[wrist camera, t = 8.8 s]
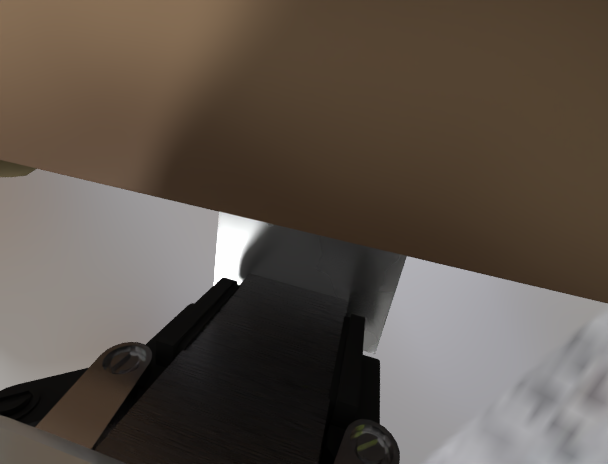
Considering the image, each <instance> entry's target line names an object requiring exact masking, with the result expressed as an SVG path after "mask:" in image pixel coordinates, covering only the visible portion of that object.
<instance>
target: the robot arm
mask: <svg viewBox="0 0 608 464" xmlns="http://www.w3.org/2000/svg"><path fill="white" fill-rule="evenodd" d="M239 287H240V285H238V282H237V281H236V280H232V279H229V278H225V277H223V278H221V279H220V280H219V281H218V282H217V283H216V284H215V285H214V286H213V287H212V288H211V289H210V290H209V291H208V292H206V293H205V294H204V295H203V296H202V297H201V298H200V299H199V300H198V301H197V302H196V303H195V304H193V303H192V304H190V305H188V306H187V307H186V308H185V309H184V310H183V311H181V312H180V313H179V314H178V315H177V316H176V317H175V318H174V319H173V320H172V321H171V322H170V323H168V324H167V325H166V326H165V327H164V328H163V329H162V330H161V331H160V332H159V333H158V334H157V335H156V336H154V337H153V338H152V339H151V340H150V341H149V342H148V343H147V344H146V345H145V344H141V343H138V342H128V343H122V344H118V345H115V346H113V347H112V348H109V349H107V350H106V351H105V352H104V353H102V355H100V356H99V357H98V358H97V360H96V361H95V362H94V363H93V364H92V365H91V366H90V367H89V368H86V369H82V370H77V371H73V372H69V373H64V374H61V375H56V376H52V377H47V378H43V379H39V380H35V381H31V382H26V383H22V384H18V385H14V386H11V387H8V388H6V389H3V390H1V391H0V464H126V463H124V462H121V461H119V460H116V459H114V458H111V457H109V456H106V455H104V454H101V453H99V452H96V451H94V450H95V449H96V448H97V447H98V446H99V445H100V443H101V442H102V441H103V440H104V439H105V438H106V437H107V435H108V434H109V433H110V432H111V431H112V430H113V429H114V427H115V426H116V425H117V424H118V423H119V422H120V421H121V420H122V418H123V417H124V416H125V415H126V414H127V413H128V412H129V410H130V409H131V408H132V407H133V406H134V405H135V404H136V402H137V401H138V400H139V399H140V398H141V397H142V396H143V394H144V393H145V392H146V391H147V390H148V389H149V388H150V387H151V385H152V384H153V383H154V382H155V381H156V380H157V379H158V377H159V376H160V375H161V374H162V373H163V372H164V371H165V369H166V368H167V367H168V366H169V365H170V364H171V363H172V361H173V360H174V359H175V358H176V357H177V356H178V355H179V353H180V352H181V351H182V350H185V349H186V348H187V347H188V346H189V345H190V343H191V342H192V341H193V340H194V339H195V338H196V336H197V335H198V334H199V333H200V332H201V331H202V330H203V328H204V327H205V326H206V325H207V324H208V323H209V321H210V320H211V319H212V318H213V317H214V316H215V315H216V313H217V312H218V311H219V310H220V309H221V308H222V306H223V305H224V304H225V303H226V302H227V301H228V300H229V298H230V297H231V296H232V295H233V294H234V293H235V291H236V290H237V289H238V288H239ZM365 319H366V318H365V317H363V316H359V315H356V314H352V313H351V315H350V317H348V316H344V321H343V326H342V331H341V336H340V341H339V346H338V351H337V356H336V361H335V366H334V371H333V376H332V381H331V386H330V391H329V396H328V399H330V402H329V407H328V413H327V418H326V423H325V428H324V434H323V439H322V444H321V449H320V455H319V460H318V464H399V460H400V455H399V454H400V452H399V448H398V445H397V442H396V441H395V439H394V437H393V436H392V434H391V433H390V432H389V431H388V430H387V429H386V428H385V427H383V426H381V425H380V419H379V418H380V361H379V360H378V359H375V358H372V357H368V356H365V355H363V343H364V331H365Z"/></svg>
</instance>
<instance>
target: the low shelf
mask: <svg viewBox="0 0 608 464" xmlns="http://www.w3.org/2000/svg"><path fill="white" fill-rule="evenodd" d="M0 160H3V161H7V162H12V163H16V164H20V165H24V166H28V167H33V168H37V169H41V170H46V171H50V172H54V173H58V174H62V175H67V176H71V177H75V178H79V179H84V180H88V181H92V182H96V183H100V184H105V185H109V186H113V187H118V188H122V189H126V190H130V191H134V192H138V193H143V194H147V195H151V196H155V197H160V198H164V199H168V200H173V201H177V202H181V203H185V204H189V205H193V206H198V207H202V208H206V209H210V210H215V211H219V212H223V213H227V214H232V215H236V216H240V217H244V218H248V219H253V220H257V221H261V222H265V223H270V224H274V225H278V226H282V227H287V228H291V229H295V230H299V231H303V232H308V233H312V234H316V235H320V236H325V237H329V238H333V239H337V240H342V241H346V242H350V243H354V244H358V245H363V246H367V247H371V248H375V249H380V250H384V251H388V252H392V253H397V254H401V255H405V256H410V257H414V258H418V259H422V260H426V261H431V262H435V263H439V264H443V265H447V266H452V267H456V268H460V269H464V270H468V271H473V272H477V273H481V274H486V275H490V276H494V277H498V278H502V279H507V280H511V281H515V282H519V283H523V284H528V285H532V286H537V287H540V288H545V289H549V290H553V291H558V292H562V293H566V294H570V295H574V296H579V297H583V298H587V299H592V300H596V301H600V302H604V303H608V0H0Z"/></svg>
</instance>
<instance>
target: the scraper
mask: <svg viewBox="0 0 608 464" xmlns="http://www.w3.org/2000/svg"><path fill="white" fill-rule="evenodd" d="M218 222H219V223H218V235H217V249H216V262H215V275H214V285H215V284H216V283H217V282H218V281H219V280H220V279H221V278H223V277H225V278H229V279H232V280H236V281H237V282H238V285H240V287H239V288H238V289H237V290H236V291H235V293H234V294H233V295H232V296H231V297H230V298H229V300H228V301H227V302H226V303H225V304H224V305H223V306H222V308H221V309H220V310H219V311H218V312H217V313H216V315H215V316H214V317H213V318H212V319H211V320H210V321H209V323H208V324H207V325H206V326H205V327H204V328H203V330H202V331H201V332H200V333H199V334H198V335H197V336H196V338H195V339H194V340H193V341H192V342H191V343H190V345H189V346H188V347H187V348H186V349H185V350H182V351H181V352H180V353H179V355H178V356H177V357H176V358H175V359H174V360H173V361H172V363H171V364H170V365H169V366H168V367H167V368H166V369H165V371H164V372H163V373H162V374H161V375H160V376H159V377H158V379H157V380H156V381H155V382H154V383H153V384H152V385H151V387H150V388H149V389H148V390H147V391H146V392H145V393H144V394H143V396H142V397H141V398H140V399H139V400H138V401H137V402H136V404H135V405H134V406H133V407H132V408H131V409H130V410H129V412H128V413H127V414H126V415H125V416H124V417H123V418H122V420H121V421H120V422H119V423H118V424H117V425H116V426H115V427H114V429H113V430H112V431H111V432H110V433H109V434H108V435H107V437H106V438H105V439H104V440H103V441H102V442H101V443H100V445H99V446H98V447H97V448H96V449H95V450H94V451H96V452H99V453H101V454H104V455H106V456H109V457H111V458H114V459H116V460H119V461H121V462H124V463H126V464H318V460H319V455H320V449H321V444H322V439H323V434H324V428H325V423H326V418H327V413H328V407H329V402H330V399H328V396H329V391H330V386H331V381H332V376H333V371H334V366H335V361H336V356H337V351H338V346H339V341H340V336H341V331H342V326H343V321H344V316H348V317H350V315H351V313H352V314H356V315H359V316H363V317H365V318H366V319H365V331H364V343H363V350H364V351H367V352H370V353H374V354H375V352H376V349H377V346H378V343H379V340H380V337H381V334H382V331H383V328H384V325H385V321H386V318H387V315H388V312H389V309H390V306H391V303H392V300H393V297H394V293H395V291H396V288H397V284H398V281H399V278H400V275H401V272H402V269H403V266H404V263H405V260H406V257H407V256H405V255H401V254H397V253H392V252H388V251H384V250H380V249H375V248H371V247H367V246H363V245H358V244H354V243H350V242H346V241H342V240H337V239H333V238H329V237H325V236H320V235H316V234H312V233H308V232H303V231H299V230H295V229H291V228H287V227H282V226H278V225H274V224H270V223H265V222H261V221H257V220H253V219H248V218H244V217H240V216H236V215H232V214H227V213H223V212H219V221H218Z"/></svg>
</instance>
